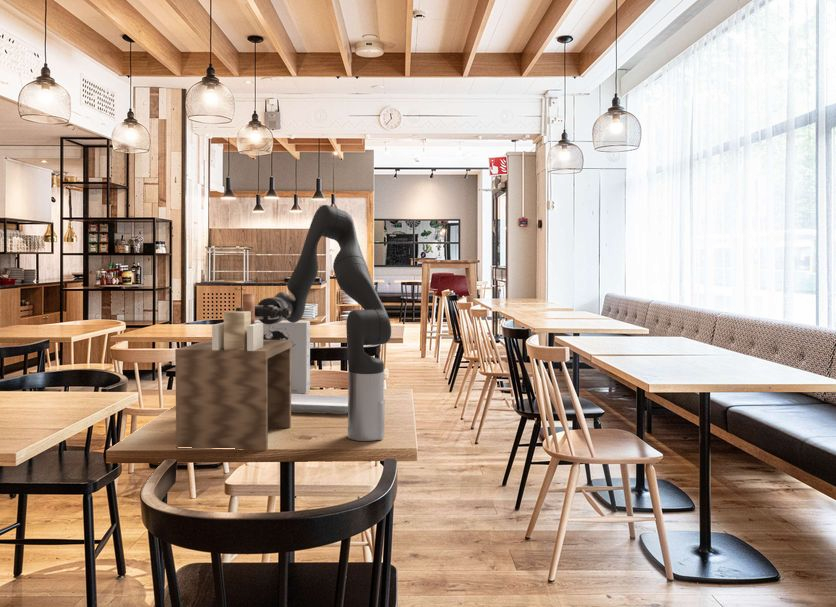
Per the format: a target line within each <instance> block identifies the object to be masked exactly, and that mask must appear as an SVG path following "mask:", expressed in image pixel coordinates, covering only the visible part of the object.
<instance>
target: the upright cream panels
mask: <svg viewBox="0 0 836 607" xmlns="http://www.w3.org/2000/svg"><path fill="white" fill-rule="evenodd" d="M211 339H212V350H221V349H223V348H224V321H223V322H220V323H215V324H211ZM262 347H263V323H255V324H252V325H248V326H247V351H254V350H257V349H259V348H262Z"/></svg>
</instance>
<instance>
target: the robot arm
mask: <svg viewBox="0 0 836 607" xmlns="http://www.w3.org/2000/svg"><path fill="white" fill-rule="evenodd" d="M309 225H310V226H309V227H308V228H309V229H308V232H307V234H306V238H305V240H304V243H303V247H302V250H301V253H300V255H299V257H298V258H299V259H298V261H297V262H296V263H297V264H296V265H295V268H294V269H293V271H292V273H291V276H290V277H289V279H288V281H287V284H286V286H287V289H288V291H289V292H290V293H291V295H293V296H294V297H293V296H291V295H289V294H288V293H286V292H282V291H280V292H278V293H277V294H275V296H274V297H266V298H263V299H261V300H260V301H259V302H258V304H257V305H255V320H260V321H261V322H262V323H264V324H268V325H270V324H274V323H278V322H281V321H289V322H292V323H295V322H297V321H301V319H302V318H303V316H304V314H305V309H306V303H307V299H308V296H309V292H310V290H311V288H312V286H313V284H314V282H315V280H316V278H317V275H318V272H319V263H318V255H317V254H318V253H317V252H318V244H319V242H320V240H321V238H322V237H325V238H328V239H331V240H334V241H335V242H336V243H337V244H338V246H339V249H340V250H339V251H338V253H337V254H336V256H335V258H334V260H333V264H332V265H333V266H332V268H333V272H334V275H335V276H334V277H335V278H336V279H335V280H336V282H337V284H338V287H339V288H340V289H341V290H342V291H343V293H345V294H346V295H347V296H348V297H350V298H351V299H352V300H353V301H355V303H357V304H358V305H360V307H362V309H353V310H351V311H349V313H348V315H347V317H346V328H345V329H346V342H347V343H346V346H347V347H346V348H347V355H346V356H347V366H348V367H347V368H348V371H347V374H348V375H347V385H348V386H347V396H348V412H347V438H348V439H350V440H353V441H360V442H371V441H381V440H383V438H384V436H385V408H386V407H385V405H386V404H385V398H384V390H385V389H384V386H385V378H384V377H385V366H384V365H385V364H384V363H385V362H384V361H383V360H382V359H380V358H377V357H374V356H372V355H369V354H368V353H366V352H365V348H364V346H378V345H384V344H387V343H388V342H389V341H390V339H391V337H392V324H391V320H390V317H389V315H388V312H387V310H386V308H385V306H384V304H383V303H382V300H381V298H380V296H379V294H378V293H377V291H376V288H375V286H374V283H373V280H372V278H371V274H370V271H369V268H368V265H367V262H366V261H365V258H364V255H363V253H362V250H361V247H360V244H359V240H358V237H357V233H356V231H357V230H356V226H355V223H354V219H353V217H352V215H351V214H350V212H349V213H348V212H347V211H346V210H343V209H341V208H340V209H339V208H337V207H334V206H331V205H327V204H322V205H321V206H319V207H318V209H317V210H316V211H315V212H314V215H313V217H312V220H311V222H310V224H309ZM235 311H243V307H236V308H235Z"/></svg>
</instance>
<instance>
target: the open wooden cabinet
mask: <svg viewBox="0 0 836 607" xmlns="http://www.w3.org/2000/svg"><path fill="white" fill-rule="evenodd" d="M174 350H175V357H174V358H175V364H174V365H175V448H176V447H192V448H235V449H244V450H243V451H258V452H259V451H260V452H263V451H264V452H266V451H267V450H268V446H269V445H268V438H269V437H268V436H269V434H268V432H269V431H268V430H269V429H268V428H276V427H278V428H282V429H283V428H284V429H285V428H287V429H290V428H291V427H292V412H291V340H263V347H262V348H259V349H257V350H254V351H247V349H246V350H224V348H223V349H221V350H212V338H211V339H208V340H204V341H199V342H197V343H192V344H189V345H186V346H183V347H180V348H176V349H174Z"/></svg>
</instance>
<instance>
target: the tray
mask: <svg viewBox="0 0 836 607" xmlns="http://www.w3.org/2000/svg"><path fill="white" fill-rule="evenodd" d="M302 412H312V413H311V414H326V413H335V414H334V415H346V414H348V395H330V394H329V395H328V394H308V393H307V394H291V413H302Z"/></svg>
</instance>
